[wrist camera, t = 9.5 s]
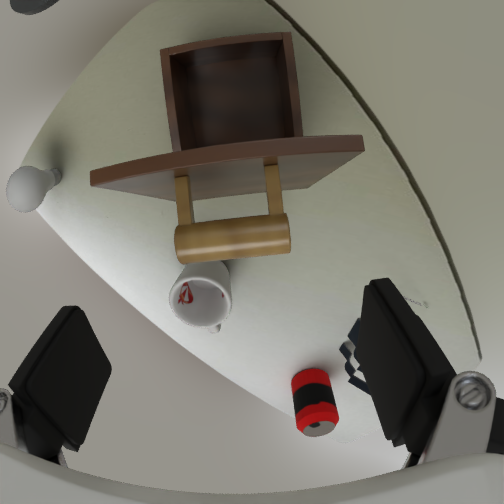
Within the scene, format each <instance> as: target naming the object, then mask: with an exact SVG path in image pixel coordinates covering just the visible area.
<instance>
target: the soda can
mask: <svg viewBox="0 0 504 504" xmlns="http://www.w3.org/2000/svg"><path fill="white" fill-rule="evenodd" d="M291 386H292V394H293V402H294V410H295V418H296V426H297V429H298V430H300V431H301V432H302V433H303V434H304V435H306V436H310V437H317V436H322V435H325V434H328V433H330V432H331V431H332V430H333V429H334V428H335V426H336V424H337V423H338V421H339V415H338V411H337V407H336V403H335V399H334V395H333V391H332V387H331V383H330V379H329V376H328V374H327V373H326V372H325V371H323V370H320V369H307V370H304V371H301V372H300V373H298V374H297V375H296V376H295V377H294V378H293V379H292V382H291Z"/></svg>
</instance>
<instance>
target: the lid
mask: <svg viewBox="0 0 504 504" xmlns="http://www.w3.org/2000/svg"><path fill="white" fill-rule="evenodd" d="M364 151H365V148H364V142H363V136H362V135H325V136H305V137H289V138H277V139H265V140H255V141H246V142H238V143H230V144H222V145H215V146H208V147H201V148H195V149H189V150H183V151H177V152H172V153H166V154H161V155H156V156H151V157H146V158H142V159H137V160H132V161H128V162H124V163H119V164H115V165H111V166H107V167H103V168H99V169H95V170H92V171H90V185H91V186H92V187H98V188H104V189H110V190H116V191H121V192H127V193H133V194H138V195H144V196H149V197H154V198H160V199H165V200H170V201H176V204H177V213H178V223H179V225H178V226H177V227H176V229H175V234H174V244H175V251H176V255H177V258H178V260H179V262H180V263H181V264H188V263H198V262H208V261H218V260H228V259H238V258H248V257H258V256H268V255H278V254H287V253H290V251H291V238H290V228H289V221H288V217H287V214H286V213H284V211H283V201H282V192H281V191H282V190H293V189H305V188H309V187H310V186H312V185H313V184H315V183H316V182H318V181H319V180H321V179H322V178H324V177H325V176H327V175H329V174H330V173H332V172H333V171H335V170H336V169H338V168H339V167H341V166H342V165H344V164H345V163H347V162H348V161H350V160H352V159H353V158H355V157H356V156H358V155H359V154H361V153H362V152H364ZM262 192H267V200H268V210H269V215H259V216H250V217H240V218H231V219H223V220H214V221H206V222H198V223H195V222H194V212H193V203H192V201H195V200H202V199H210V198H218V197H226V196H234V195H243V194H252V193H262Z"/></svg>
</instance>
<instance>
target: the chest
mask: <svg viewBox="0 0 504 504" xmlns="http://www.w3.org/2000/svg"><path fill="white" fill-rule="evenodd" d="M160 56H161V66H162V75H163V84H164V92H165V100H166V107H167V115H168V122H169V129H170V136H171V142H172V149H173V152H177V151H183V150H189V149H195V148H201V147H208V146H215V145H222V144H230V143H238V142H246V141H255V140H265V139H277V138H289V137H303V129H302V119H301V109H300V99H299V90H298V81H297V73H296V65H295V58H294V50H293V43H292V36H291V32H282V33H281V32H275V33H260V34H248V35H239V36H230V37H223V38H216V39H210V40H204V41H198V42H193V43H188V44H183V45H178V46H174V47H169V48H165V49H161V50H160Z"/></svg>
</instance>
